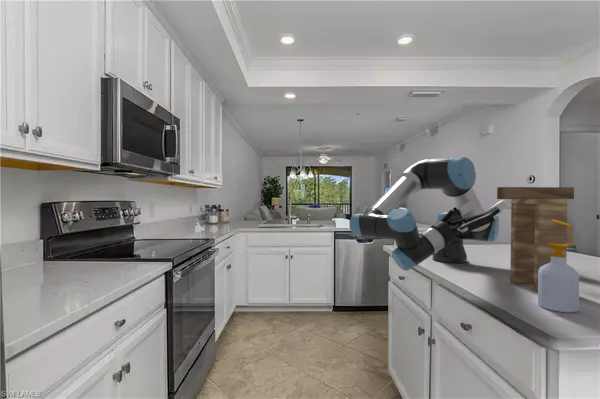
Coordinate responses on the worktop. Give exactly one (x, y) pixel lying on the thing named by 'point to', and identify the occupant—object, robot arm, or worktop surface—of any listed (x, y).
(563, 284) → the soap bottle
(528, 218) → the bridge
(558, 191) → the walnut rail
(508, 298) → the worktop surface
